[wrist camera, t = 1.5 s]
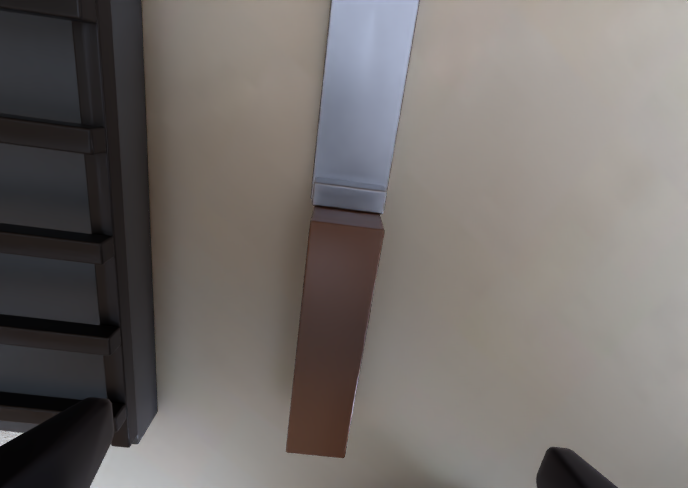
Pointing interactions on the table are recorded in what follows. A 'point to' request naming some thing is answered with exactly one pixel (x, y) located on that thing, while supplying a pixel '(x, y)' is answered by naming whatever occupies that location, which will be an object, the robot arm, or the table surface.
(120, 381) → the dish rack
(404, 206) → the table surface
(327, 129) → the knife
